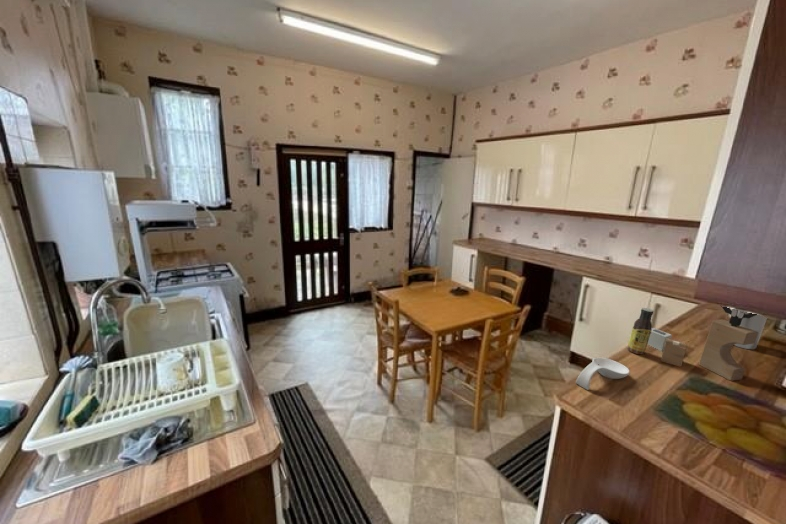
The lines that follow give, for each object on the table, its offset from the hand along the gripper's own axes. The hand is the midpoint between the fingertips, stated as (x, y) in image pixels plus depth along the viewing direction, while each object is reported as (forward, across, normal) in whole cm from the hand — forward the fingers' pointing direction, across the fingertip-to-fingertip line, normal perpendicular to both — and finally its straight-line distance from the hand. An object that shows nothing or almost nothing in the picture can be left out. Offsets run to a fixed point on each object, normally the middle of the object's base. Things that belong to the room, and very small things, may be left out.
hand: (734, 325), depth 117 cm
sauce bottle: (+20, +24, +10) cm, 33 cm away
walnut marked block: (+20, +13, +6) cm, 25 cm away
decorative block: (+20, 0, 0) cm, 20 cm away
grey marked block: (+20, +21, -3) cm, 29 cm away
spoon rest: (+21, +24, +44) cm, 54 cm away
